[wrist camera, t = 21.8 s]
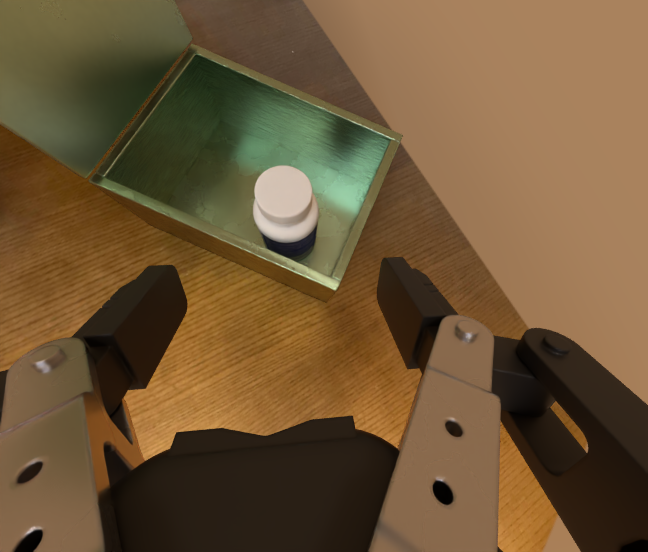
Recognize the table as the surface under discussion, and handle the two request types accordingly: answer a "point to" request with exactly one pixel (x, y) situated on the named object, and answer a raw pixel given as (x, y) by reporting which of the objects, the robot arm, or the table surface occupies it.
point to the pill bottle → (286, 211)
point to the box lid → (82, 70)
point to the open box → (247, 166)
